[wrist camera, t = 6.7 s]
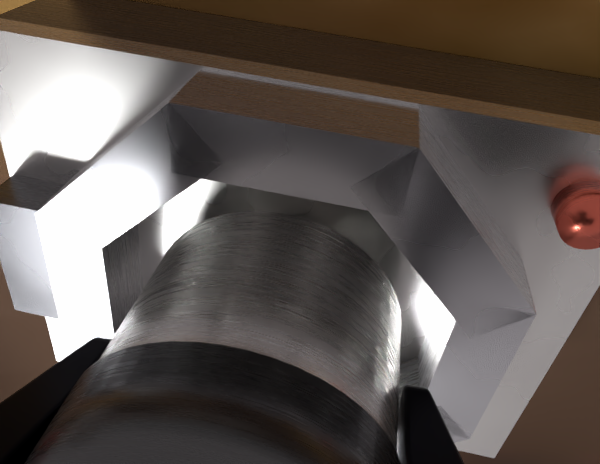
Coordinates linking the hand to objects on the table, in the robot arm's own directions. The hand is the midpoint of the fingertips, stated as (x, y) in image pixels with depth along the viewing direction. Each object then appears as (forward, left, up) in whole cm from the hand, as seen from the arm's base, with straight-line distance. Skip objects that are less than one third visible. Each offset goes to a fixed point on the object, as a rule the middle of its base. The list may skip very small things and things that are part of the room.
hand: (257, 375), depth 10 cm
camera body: (0, 0, -6) cm, 6 cm away
